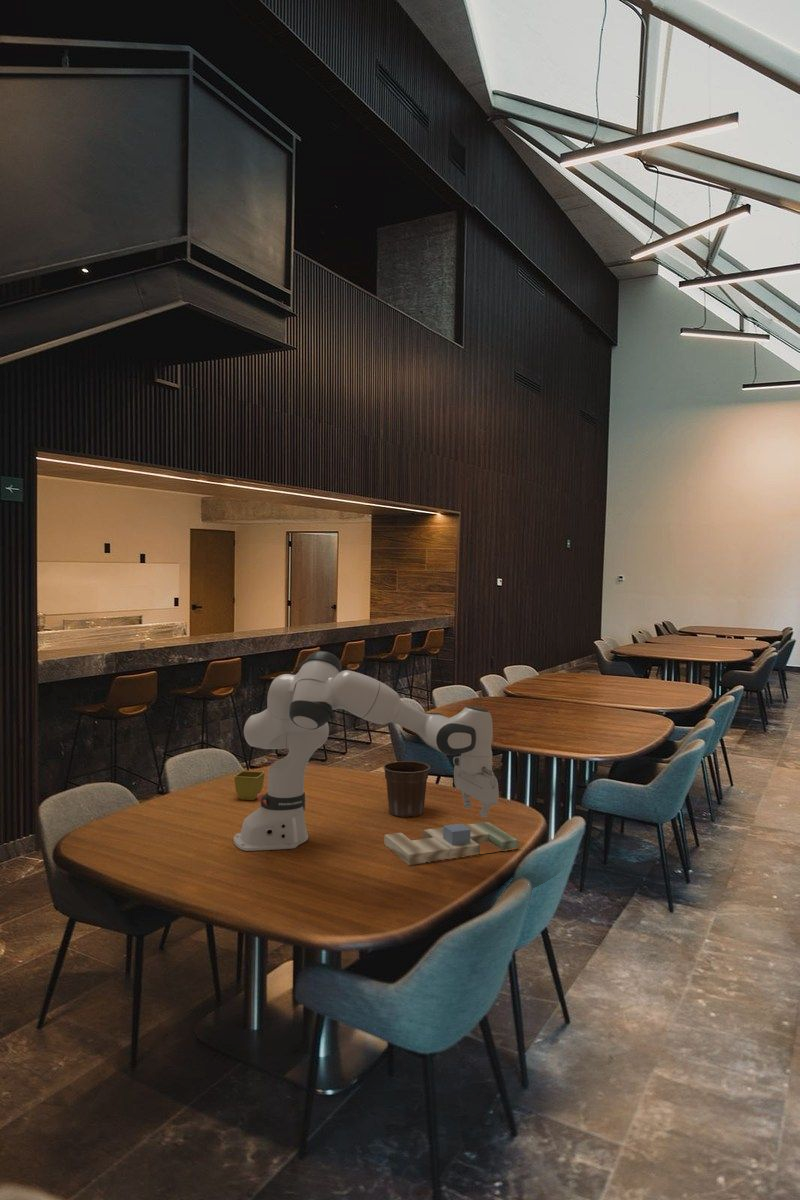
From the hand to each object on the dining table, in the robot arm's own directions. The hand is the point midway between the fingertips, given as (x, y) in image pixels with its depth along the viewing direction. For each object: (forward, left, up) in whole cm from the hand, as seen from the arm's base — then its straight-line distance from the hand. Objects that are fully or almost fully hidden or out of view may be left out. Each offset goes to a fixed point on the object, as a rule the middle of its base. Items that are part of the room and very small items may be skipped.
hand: (475, 812), depth 216 cm
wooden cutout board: (0, +15, -15) cm, 21 cm away
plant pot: (+1, +51, -15) cm, 53 cm away
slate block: (0, +12, -12) cm, 17 cm away
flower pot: (-46, +85, -15) cm, 98 cm away
